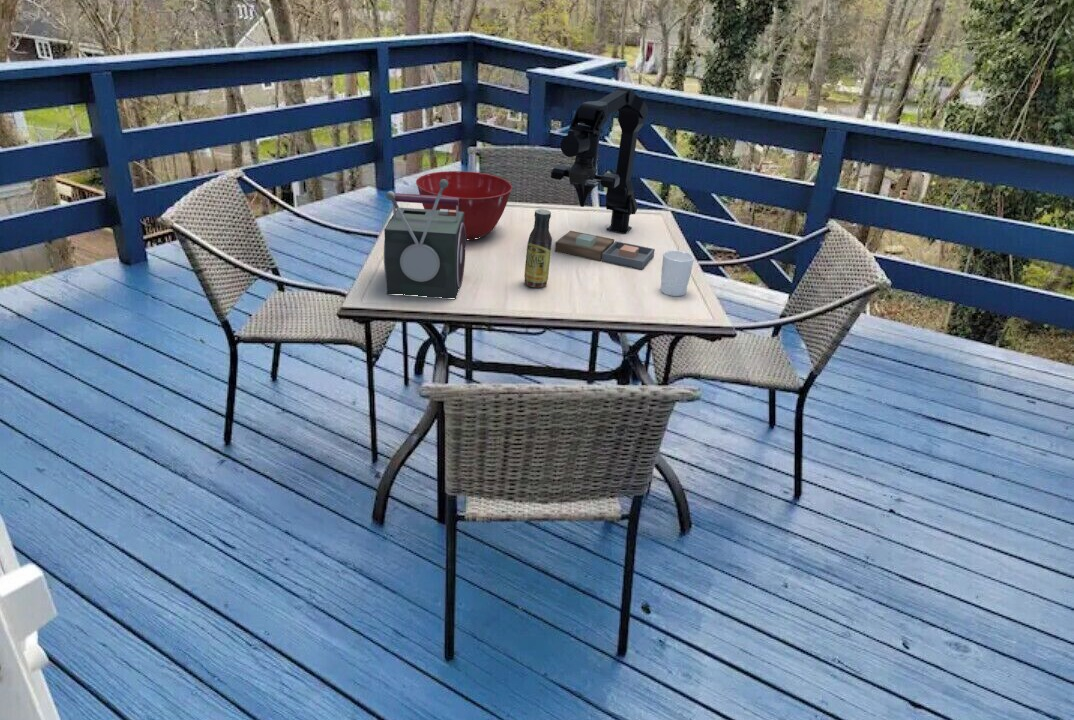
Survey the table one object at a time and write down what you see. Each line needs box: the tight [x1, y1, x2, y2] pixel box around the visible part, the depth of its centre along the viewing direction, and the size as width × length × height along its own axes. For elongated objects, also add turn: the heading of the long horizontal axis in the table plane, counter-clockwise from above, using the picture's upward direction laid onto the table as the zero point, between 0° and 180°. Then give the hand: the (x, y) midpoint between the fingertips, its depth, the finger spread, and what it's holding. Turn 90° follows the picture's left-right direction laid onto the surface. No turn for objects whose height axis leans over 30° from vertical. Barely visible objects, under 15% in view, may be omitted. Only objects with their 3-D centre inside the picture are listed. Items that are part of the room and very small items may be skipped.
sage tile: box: [576, 233, 597, 247], centre depth 217 cm, size 4×4×2 cm
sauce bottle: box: [524, 208, 553, 289], centre depth 192 cm, size 6×6×20 cm
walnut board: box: [554, 230, 615, 262], centre depth 221 cm, size 12×14×3 cm
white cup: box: [659, 249, 695, 297], centre depth 196 cm, size 8×8×10 cm
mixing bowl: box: [415, 170, 513, 241], centre depth 225 cm, size 28×28×15 cm
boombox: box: [383, 179, 467, 300], centre depth 186 cm, size 18×21×30 cm
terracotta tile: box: [619, 245, 639, 259], centre depth 218 cm, size 4×4×2 cm
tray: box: [601, 240, 656, 271], centre depth 217 cm, size 12×12×2 cm
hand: (582, 206), depth 215 cm, fingers closed
